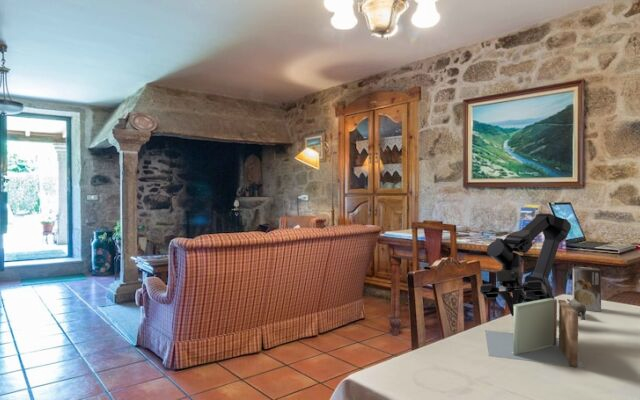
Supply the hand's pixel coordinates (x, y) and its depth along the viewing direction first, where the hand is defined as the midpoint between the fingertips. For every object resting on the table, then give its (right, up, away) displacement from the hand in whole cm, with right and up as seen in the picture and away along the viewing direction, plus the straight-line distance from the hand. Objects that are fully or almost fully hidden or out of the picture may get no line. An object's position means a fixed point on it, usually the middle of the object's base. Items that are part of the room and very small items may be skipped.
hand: (513, 315), depth 127 cm
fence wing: (+2, -7, -10) cm, 12 cm away
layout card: (+1, -7, -7) cm, 11 cm away
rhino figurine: (+35, -8, +26) cm, 44 cm away
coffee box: (+46, -7, +35) cm, 58 cm away
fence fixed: (+8, -7, -14) cm, 18 cm away
